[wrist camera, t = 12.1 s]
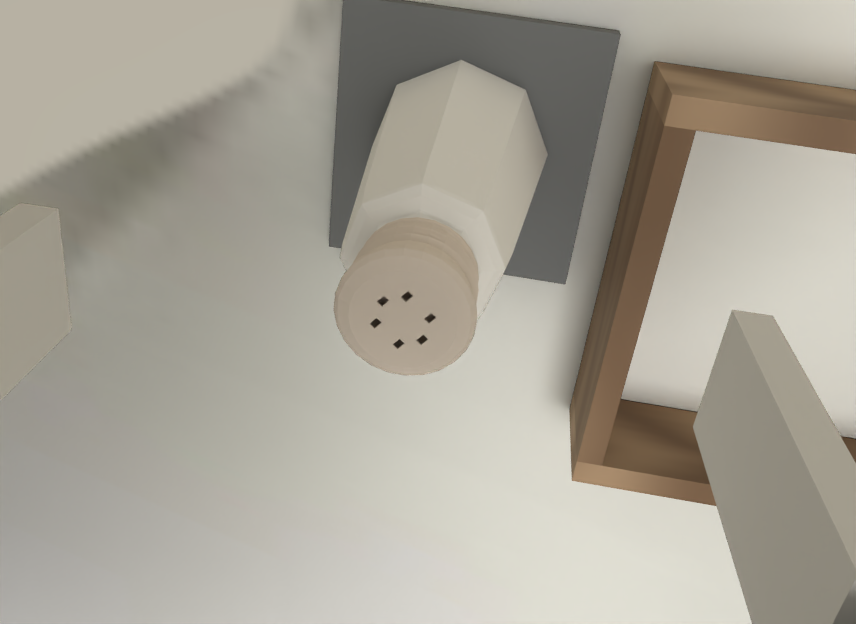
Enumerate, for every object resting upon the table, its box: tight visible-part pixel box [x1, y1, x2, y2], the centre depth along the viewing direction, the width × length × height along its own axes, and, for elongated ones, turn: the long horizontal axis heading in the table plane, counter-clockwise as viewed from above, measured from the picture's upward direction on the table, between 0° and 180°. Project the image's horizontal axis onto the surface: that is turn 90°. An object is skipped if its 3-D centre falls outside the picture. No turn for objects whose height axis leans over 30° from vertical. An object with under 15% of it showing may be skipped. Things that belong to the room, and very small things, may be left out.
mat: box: [329, 0, 621, 284], centre depth 25 cm, size 8×8×1 cm
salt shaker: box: [334, 60, 548, 375], centre depth 20 cm, size 5×5×11 cm
